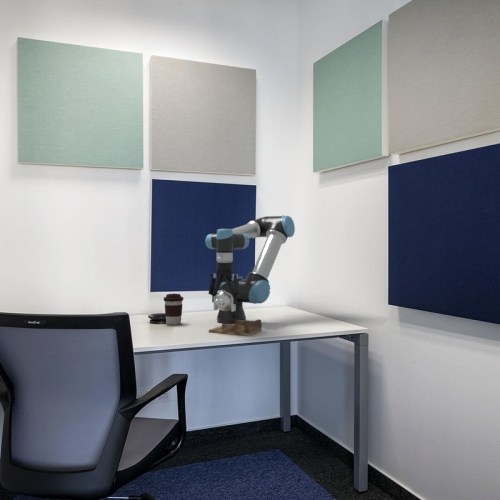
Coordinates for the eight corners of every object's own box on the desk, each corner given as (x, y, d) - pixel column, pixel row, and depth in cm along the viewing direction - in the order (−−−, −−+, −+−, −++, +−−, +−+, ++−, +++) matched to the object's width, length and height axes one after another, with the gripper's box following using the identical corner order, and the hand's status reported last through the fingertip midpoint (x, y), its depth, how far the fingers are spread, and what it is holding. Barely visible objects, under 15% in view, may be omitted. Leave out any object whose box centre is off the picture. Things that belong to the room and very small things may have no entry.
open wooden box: (208, 332, 216) (208, 321, 216) (223, 327, 228) (223, 316, 228) (247, 336, 207) (247, 324, 207) (261, 330, 219) (261, 319, 219)
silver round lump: (212, 309, 223) (212, 288, 223) (232, 309, 225) (232, 288, 225) (215, 312, 214) (216, 290, 214) (236, 311, 217) (236, 290, 216)
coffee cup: (172, 321, 246) (172, 292, 245) (187, 323, 241) (187, 293, 240) (159, 324, 237) (159, 294, 237) (174, 326, 232) (174, 295, 232)
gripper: (200, 261, 221) (200, 310, 221) (241, 262, 211) (241, 313, 212) (208, 261, 228) (208, 308, 228) (248, 262, 218) (248, 310, 218)
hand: (224, 310), depth 220 cm, fingers closed on silver round lump, 9 cm apart
